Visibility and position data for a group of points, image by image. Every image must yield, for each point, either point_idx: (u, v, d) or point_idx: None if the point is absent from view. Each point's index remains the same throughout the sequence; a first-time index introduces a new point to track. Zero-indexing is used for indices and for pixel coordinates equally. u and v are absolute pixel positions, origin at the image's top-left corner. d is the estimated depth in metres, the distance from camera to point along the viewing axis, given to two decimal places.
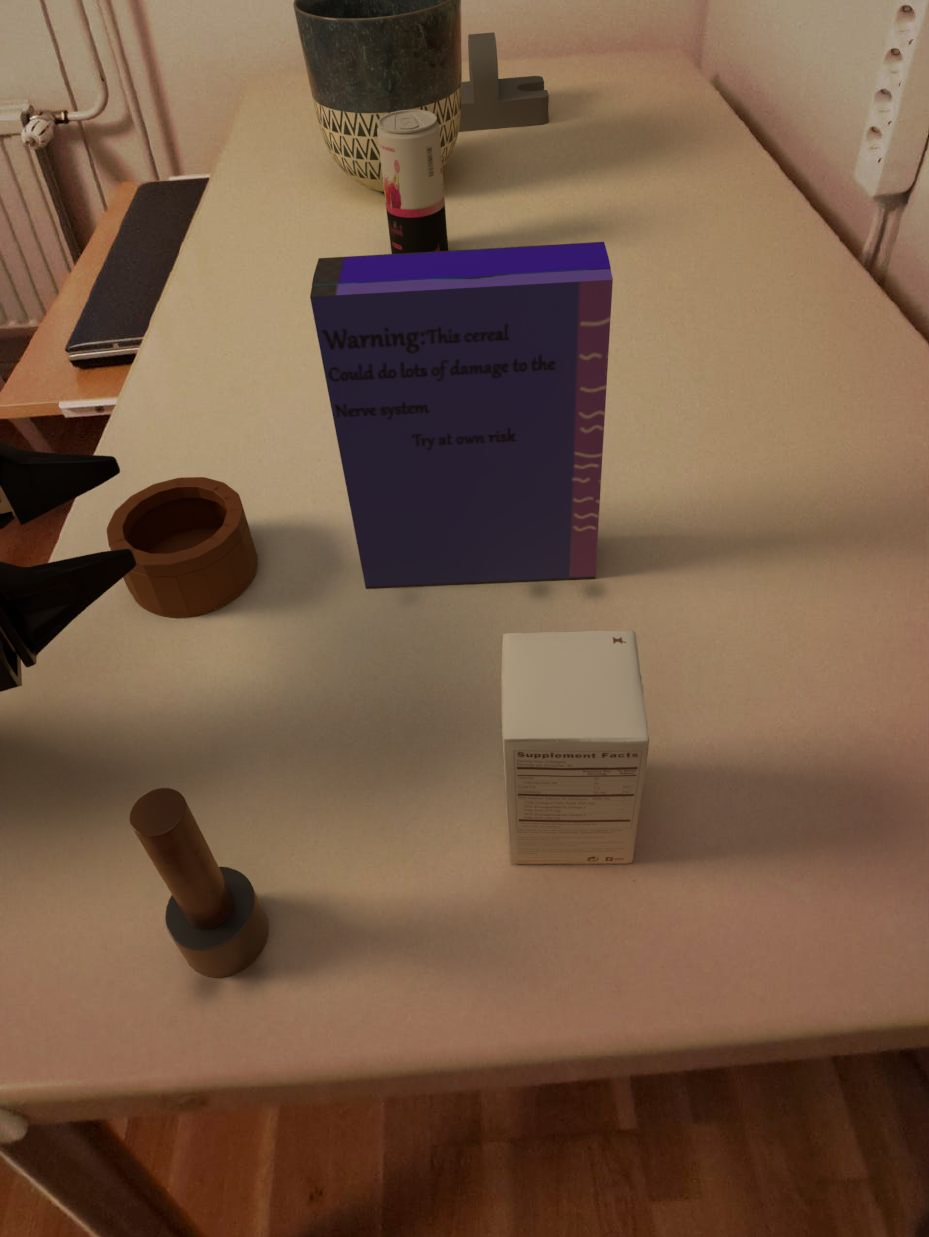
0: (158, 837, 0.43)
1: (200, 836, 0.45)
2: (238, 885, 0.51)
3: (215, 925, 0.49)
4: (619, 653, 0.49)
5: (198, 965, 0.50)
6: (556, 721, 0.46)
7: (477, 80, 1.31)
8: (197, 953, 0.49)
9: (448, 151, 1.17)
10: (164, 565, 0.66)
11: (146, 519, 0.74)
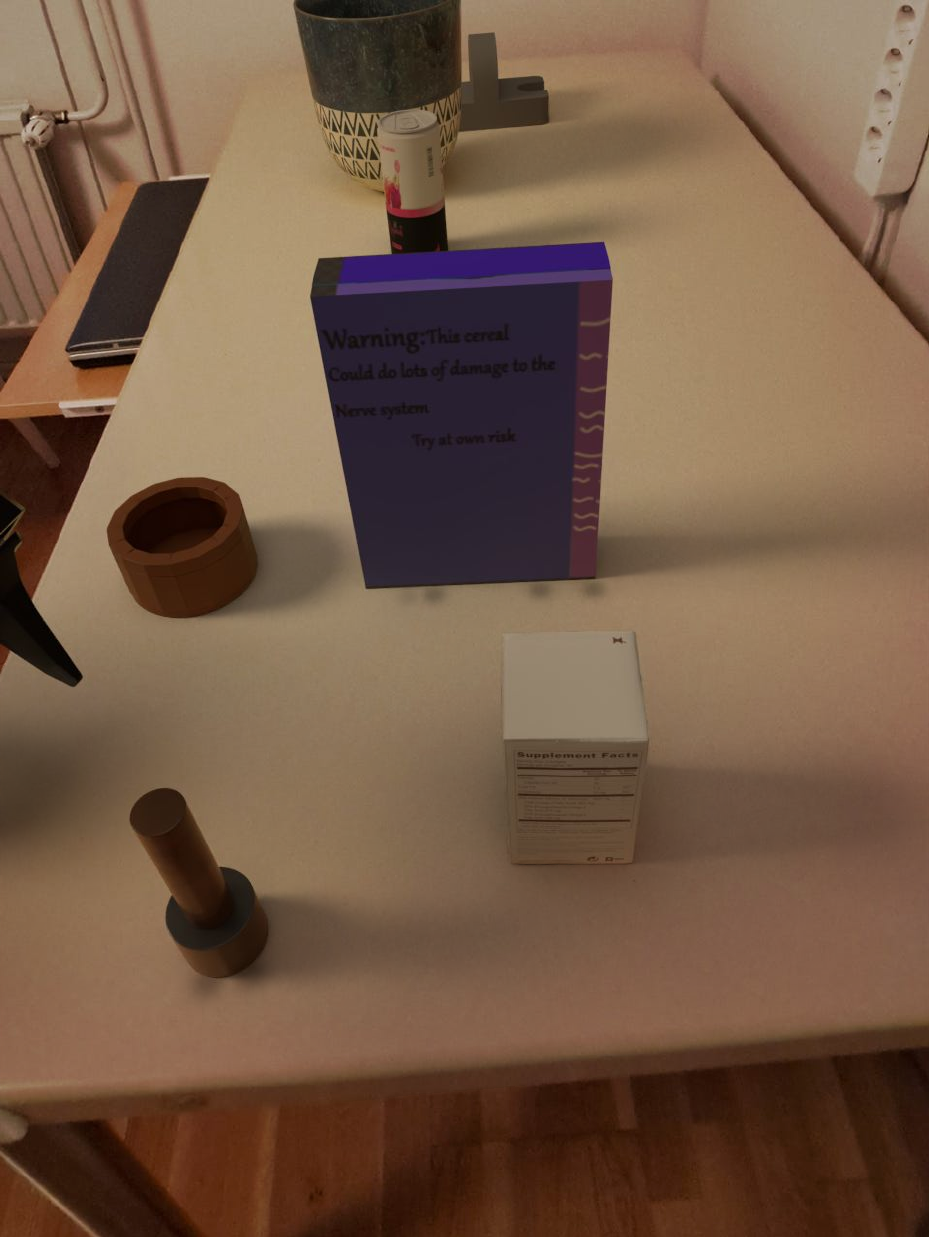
0: (158, 837, 0.43)
1: (200, 836, 0.45)
2: (238, 885, 0.51)
3: (215, 925, 0.49)
4: (619, 653, 0.49)
5: (198, 965, 0.50)
6: (556, 721, 0.46)
7: (477, 80, 1.31)
8: (197, 953, 0.49)
9: (448, 151, 1.17)
10: (164, 565, 0.66)
11: (146, 519, 0.74)
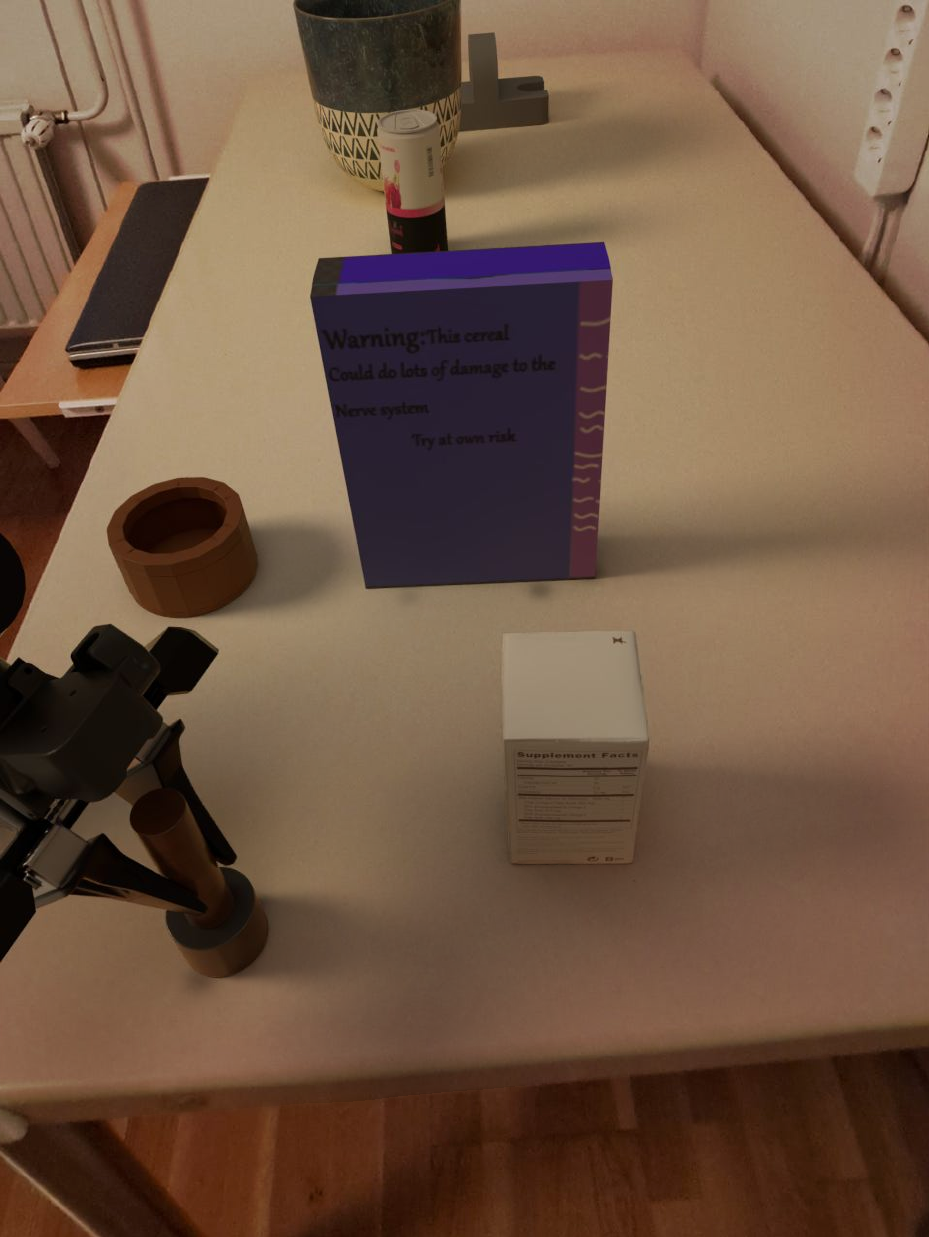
0: (158, 837, 0.43)
1: (200, 836, 0.45)
2: (238, 885, 0.51)
3: (215, 925, 0.49)
4: (619, 653, 0.49)
5: (198, 965, 0.50)
6: (556, 721, 0.46)
7: (477, 80, 1.31)
8: (197, 953, 0.49)
9: (448, 151, 1.17)
10: (164, 565, 0.66)
11: (146, 519, 0.74)
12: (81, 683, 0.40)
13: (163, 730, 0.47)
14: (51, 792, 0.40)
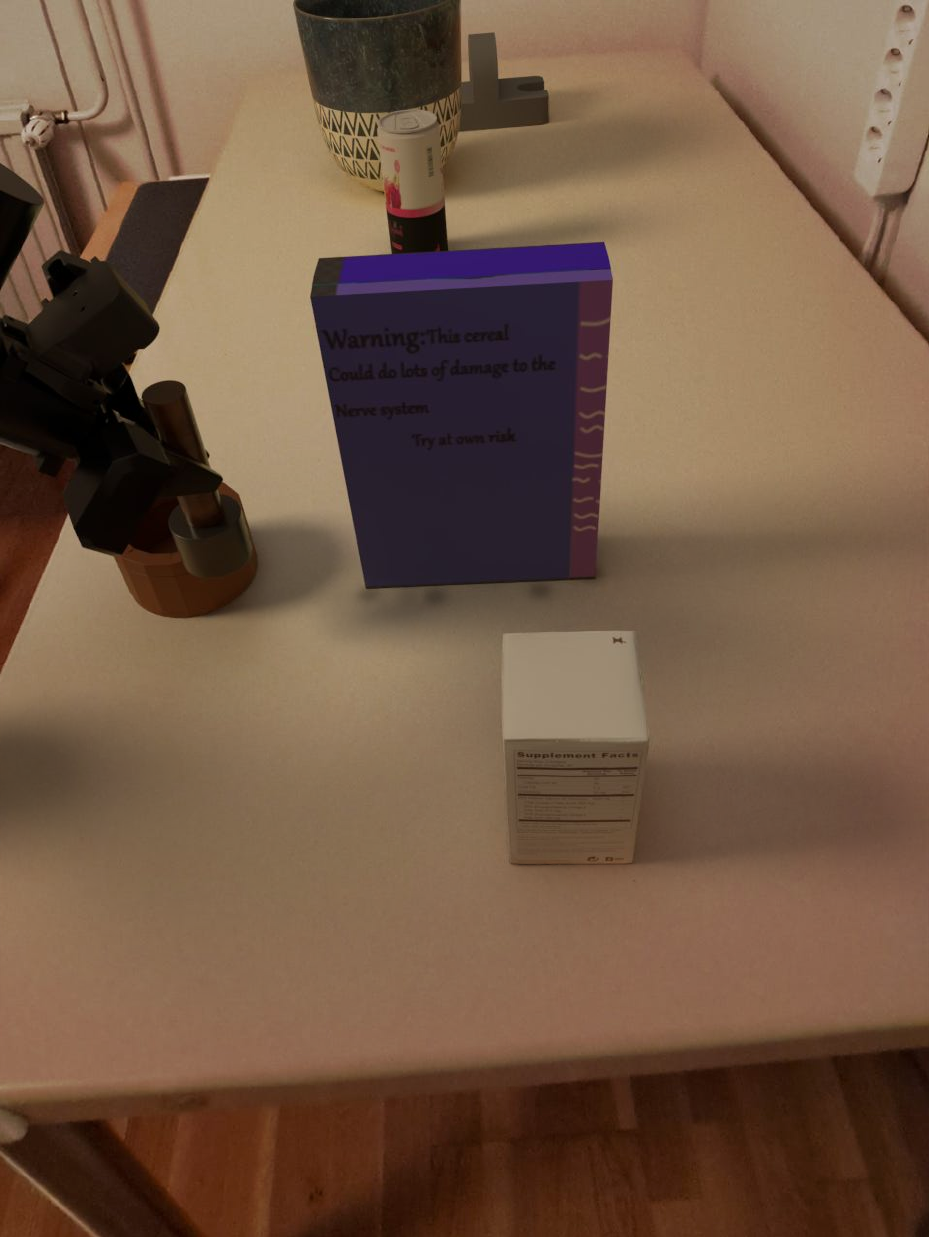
0: (180, 399, 0.55)
1: None
2: None
3: (221, 516, 0.62)
4: (619, 653, 0.49)
5: (224, 560, 0.62)
6: (556, 721, 0.46)
7: (477, 80, 1.31)
8: (224, 538, 0.61)
9: (448, 151, 1.17)
10: (164, 565, 0.66)
11: (146, 519, 0.74)
12: (73, 288, 0.51)
13: None
14: (110, 361, 0.50)
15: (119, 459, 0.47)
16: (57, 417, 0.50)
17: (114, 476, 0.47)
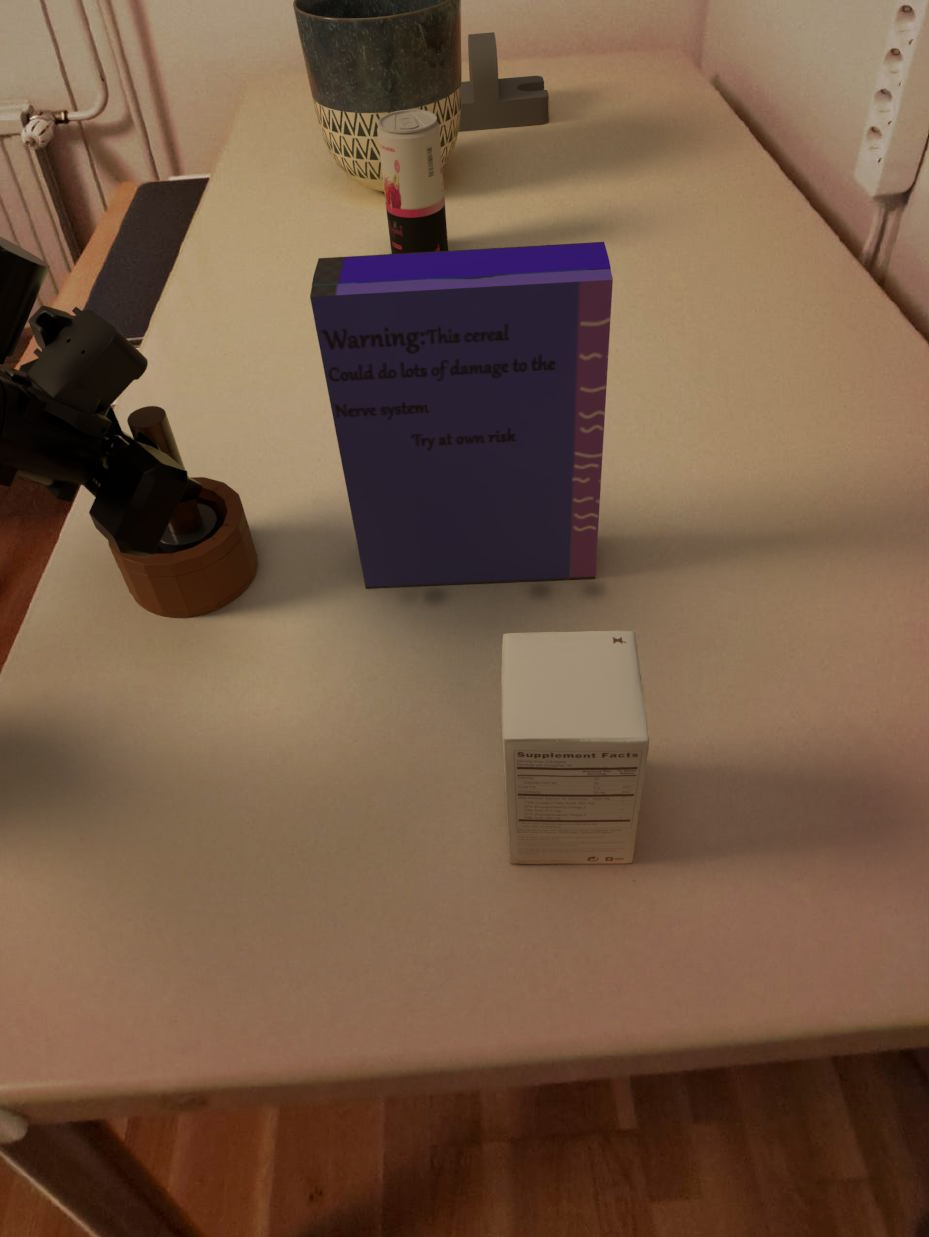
0: (164, 420, 0.63)
1: None
2: None
3: (201, 520, 0.70)
4: (619, 653, 0.49)
5: None
6: (556, 721, 0.46)
7: (477, 80, 1.31)
8: None
9: (448, 151, 1.17)
10: (164, 565, 0.66)
11: None
12: (65, 336, 0.59)
13: None
14: (111, 393, 0.58)
15: (147, 470, 0.56)
16: (72, 447, 0.58)
17: (146, 486, 0.56)
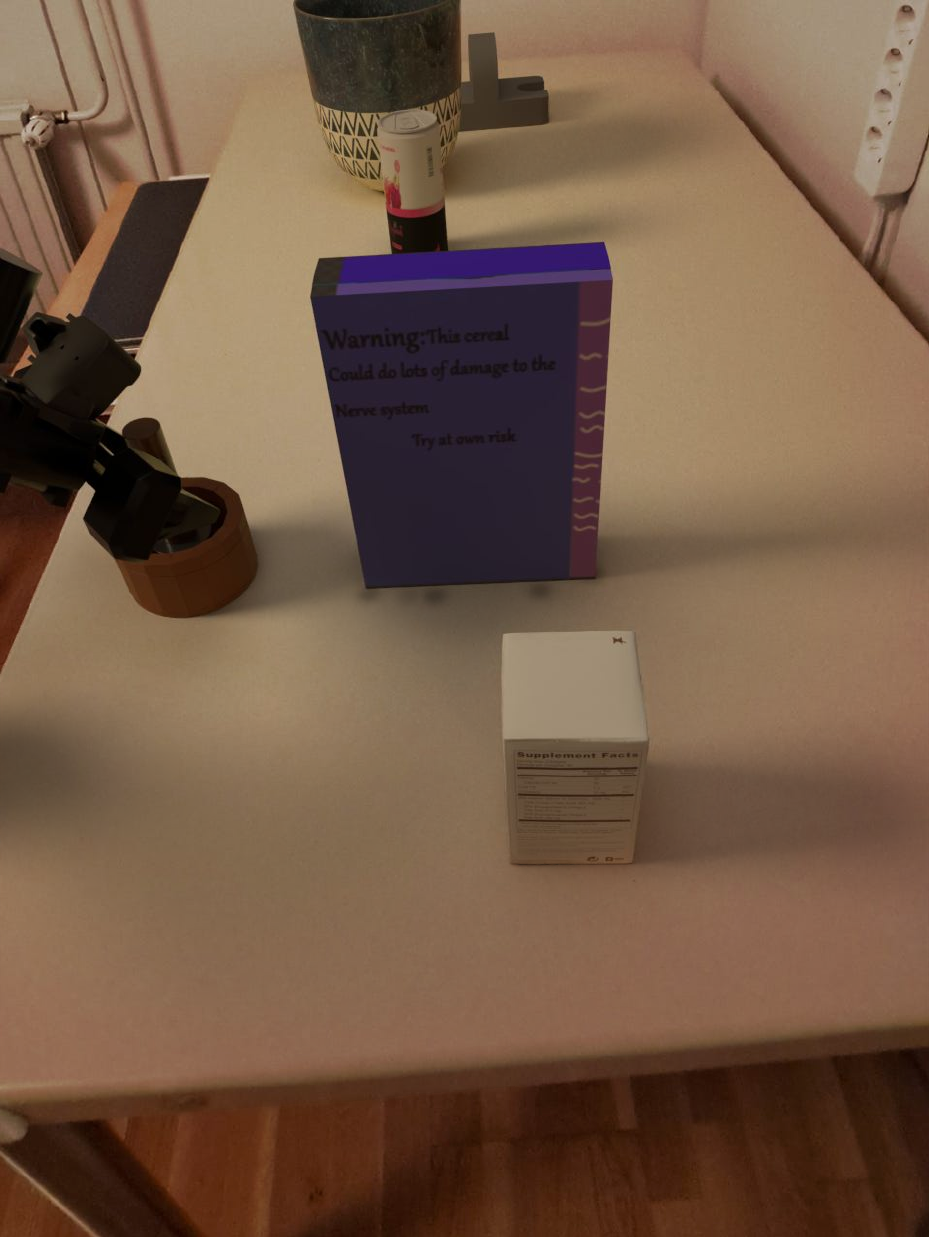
0: (158, 432, 0.64)
1: None
2: None
3: (195, 530, 0.71)
4: (619, 653, 0.49)
5: None
6: (556, 721, 0.46)
7: (477, 80, 1.31)
8: None
9: (448, 151, 1.17)
10: (164, 565, 0.66)
11: None
12: (58, 342, 0.59)
13: None
14: (105, 399, 0.59)
15: (141, 477, 0.56)
16: (66, 453, 0.58)
17: (139, 492, 0.56)
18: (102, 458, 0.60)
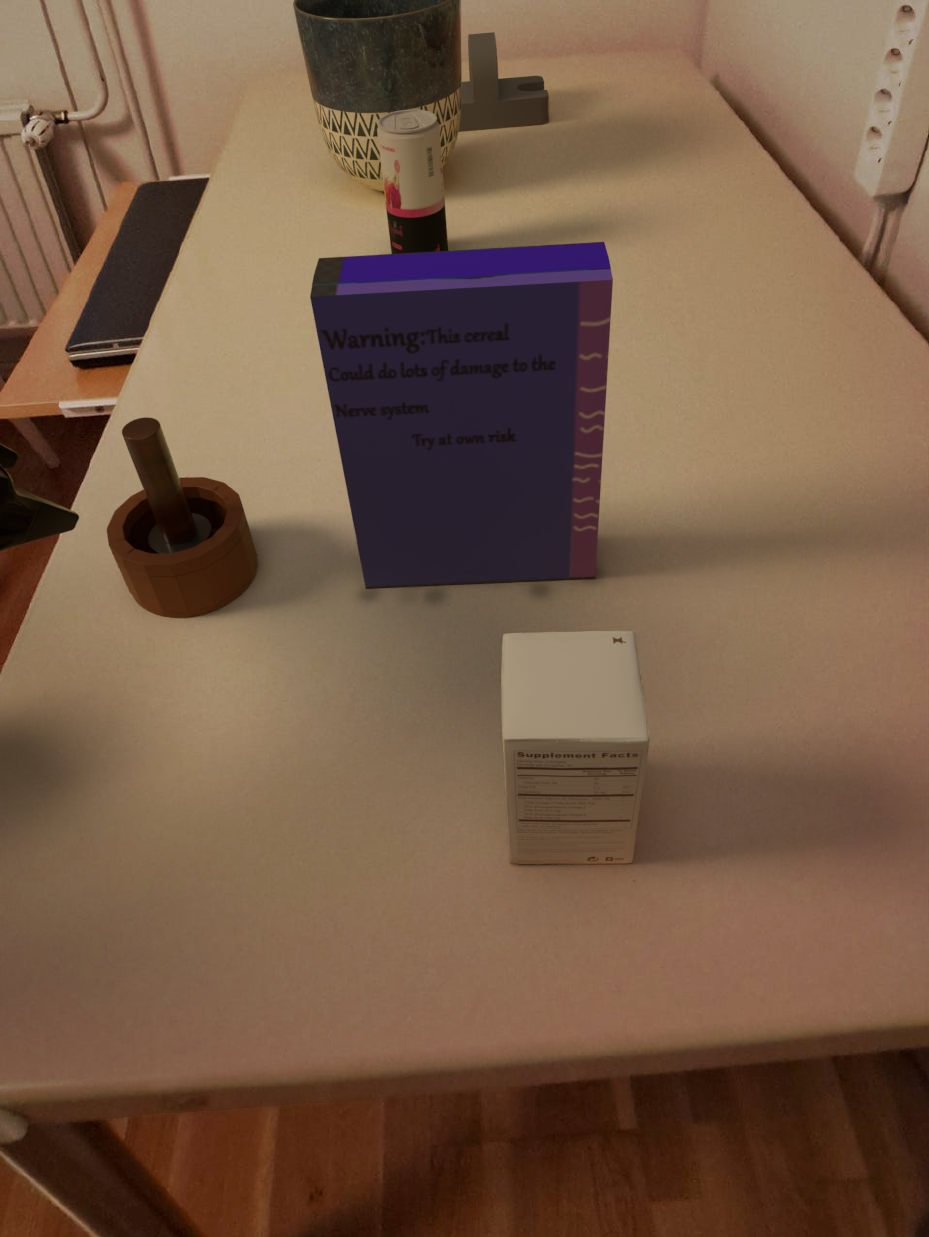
0: (158, 432, 0.64)
1: None
2: None
3: (195, 530, 0.71)
4: (619, 653, 0.49)
5: None
6: (556, 721, 0.46)
7: (477, 80, 1.31)
8: None
9: (448, 151, 1.17)
10: (164, 565, 0.66)
11: (146, 519, 0.74)
12: None
13: None
14: None
15: None
16: None
17: None
18: None
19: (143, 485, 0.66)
